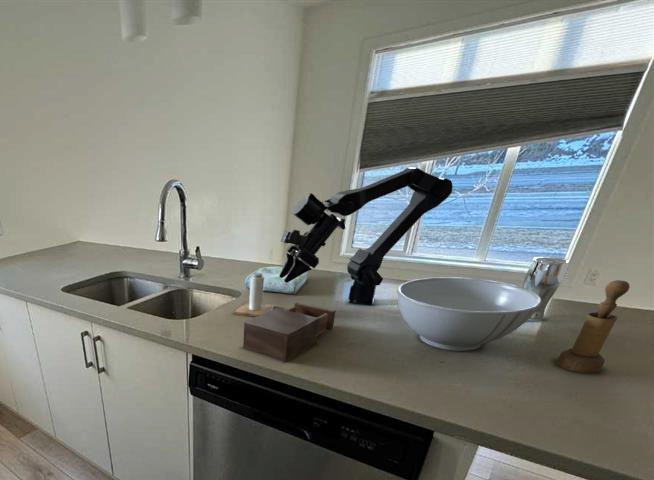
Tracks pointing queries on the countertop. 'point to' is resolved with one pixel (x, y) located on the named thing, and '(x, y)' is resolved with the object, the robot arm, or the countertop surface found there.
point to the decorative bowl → (464, 310)
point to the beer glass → (544, 280)
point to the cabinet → (280, 333)
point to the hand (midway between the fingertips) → (282, 279)
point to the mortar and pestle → (594, 334)
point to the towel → (278, 280)
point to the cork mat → (246, 311)
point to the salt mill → (256, 291)
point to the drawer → (316, 315)
